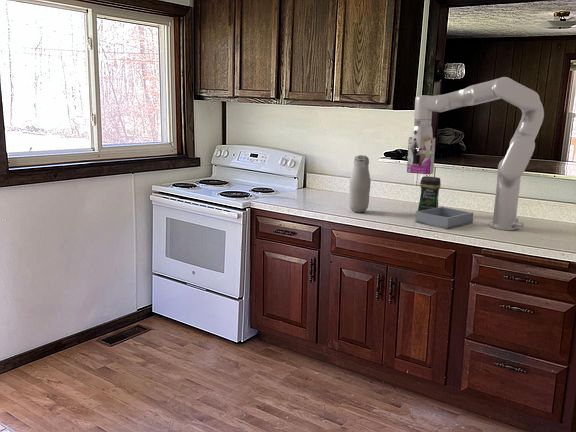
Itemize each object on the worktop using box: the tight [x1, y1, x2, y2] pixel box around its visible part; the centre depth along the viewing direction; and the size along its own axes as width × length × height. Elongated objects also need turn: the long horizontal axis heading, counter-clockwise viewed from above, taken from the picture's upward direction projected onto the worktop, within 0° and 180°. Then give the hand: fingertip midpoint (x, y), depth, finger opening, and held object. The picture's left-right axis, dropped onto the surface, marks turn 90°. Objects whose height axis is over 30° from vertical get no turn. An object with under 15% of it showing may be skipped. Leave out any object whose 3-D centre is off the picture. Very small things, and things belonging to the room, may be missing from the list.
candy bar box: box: [406, 136, 436, 175], centre depth 252 cm, size 11×5×16 cm, turn 57°
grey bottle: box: [348, 154, 372, 213], centre depth 270 cm, size 10×10×28 cm
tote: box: [414, 206, 474, 230], centre depth 253 cm, size 17×20×5 cm
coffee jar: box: [417, 175, 442, 211], centre depth 270 cm, size 10×8×19 cm
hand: (420, 162), depth 253 cm, fingers closed on candy bar box, 6 cm apart
